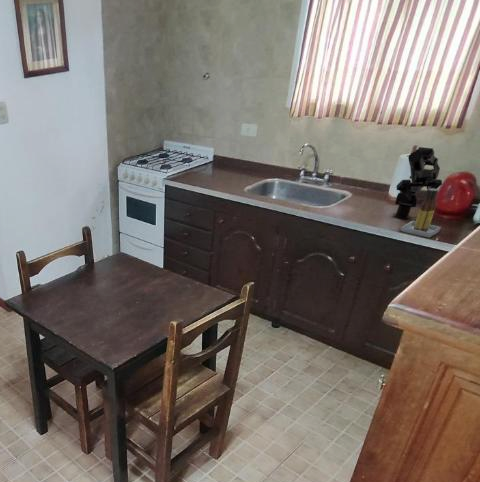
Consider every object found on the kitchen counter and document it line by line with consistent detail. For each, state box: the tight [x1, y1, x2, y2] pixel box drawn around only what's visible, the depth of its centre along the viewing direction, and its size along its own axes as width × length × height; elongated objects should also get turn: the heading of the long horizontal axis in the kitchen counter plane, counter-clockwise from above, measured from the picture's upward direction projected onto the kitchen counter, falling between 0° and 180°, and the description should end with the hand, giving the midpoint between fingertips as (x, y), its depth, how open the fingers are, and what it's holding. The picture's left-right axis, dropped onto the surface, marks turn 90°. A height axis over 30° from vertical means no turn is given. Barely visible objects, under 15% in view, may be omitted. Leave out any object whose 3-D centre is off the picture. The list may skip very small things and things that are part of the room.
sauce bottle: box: [414, 188, 439, 232], centre depth 228 cm, size 6×6×20 cm
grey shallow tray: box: [400, 220, 442, 239], centre depth 233 cm, size 12×13×2 cm
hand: (420, 200), depth 233 cm, fingers open, 9 cm apart
